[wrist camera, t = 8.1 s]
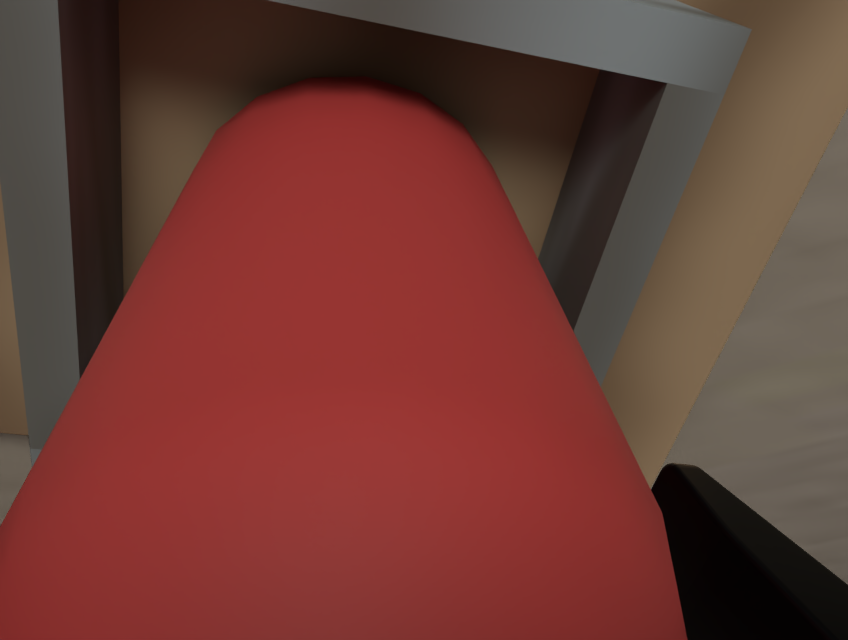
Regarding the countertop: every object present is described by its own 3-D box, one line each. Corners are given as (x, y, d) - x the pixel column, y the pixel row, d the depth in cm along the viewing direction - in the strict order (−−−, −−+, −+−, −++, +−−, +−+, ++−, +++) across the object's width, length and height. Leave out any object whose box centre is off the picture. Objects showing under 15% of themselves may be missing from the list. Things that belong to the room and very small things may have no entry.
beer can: (556, 154, 15) (1015, 772, 5) (416, 385, 18) (504, 1075, 7) (254, 2, 13) (-146, 508, 2) (151, 292, 16) (-223, 1068, 5)
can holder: (886, -40, 14) (1055, -14, 11) (637, 466, 21) (691, 577, 18) (-256, -336, 10) (-545, -437, 7) (-94, 396, 18) (-200, 519, 14)
